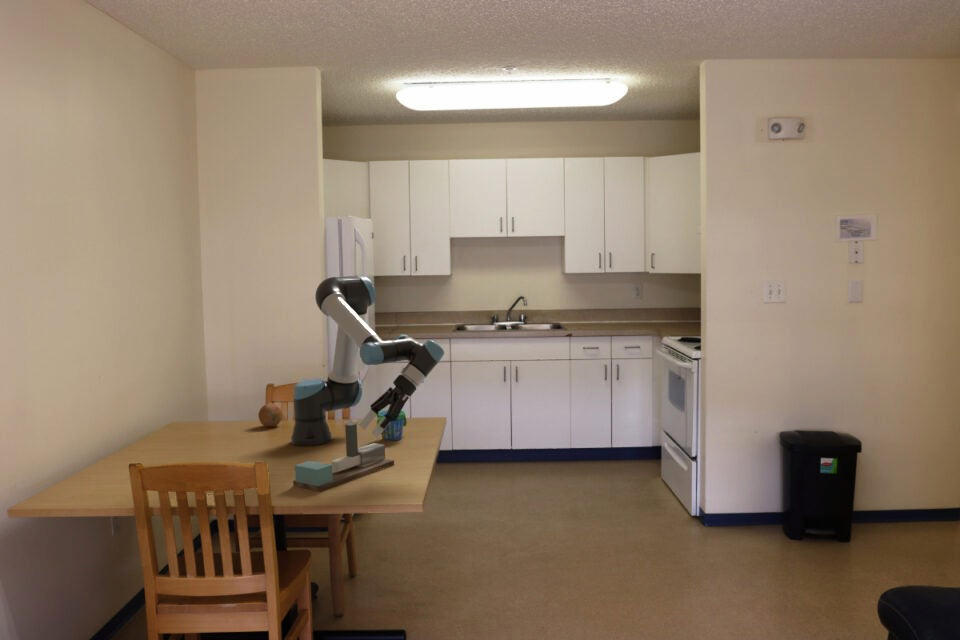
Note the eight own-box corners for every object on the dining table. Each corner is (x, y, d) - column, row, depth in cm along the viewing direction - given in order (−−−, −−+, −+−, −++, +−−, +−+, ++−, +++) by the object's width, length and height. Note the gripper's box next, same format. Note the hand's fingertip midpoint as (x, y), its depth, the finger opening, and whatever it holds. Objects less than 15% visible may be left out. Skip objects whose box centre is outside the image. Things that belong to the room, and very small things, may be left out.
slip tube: (331, 470, 248) (329, 425, 247) (378, 454, 266) (376, 412, 265) (338, 471, 246) (336, 426, 245) (385, 455, 264) (383, 413, 263)
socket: (295, 481, 240) (294, 465, 240) (310, 476, 245) (309, 460, 245) (318, 486, 234) (317, 469, 234) (332, 481, 239) (331, 464, 239)
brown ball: (276, 423, 333) (274, 400, 332) (287, 426, 325) (286, 402, 324) (255, 427, 326) (253, 403, 325) (266, 430, 319) (264, 406, 318)
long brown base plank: (293, 485, 241) (292, 465, 240) (367, 460, 268) (367, 441, 268) (320, 491, 234) (319, 470, 233) (394, 464, 261) (393, 445, 261)
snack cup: (386, 445, 289) (385, 418, 288) (367, 441, 295) (366, 414, 295) (416, 436, 301) (415, 410, 300) (397, 433, 307) (396, 407, 306)
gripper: (430, 393, 249) (388, 445, 244) (403, 382, 271) (364, 430, 266) (414, 378, 246) (371, 431, 241) (388, 369, 269) (348, 417, 264)
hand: (367, 431), depth 254 cm, fingers open, 13 cm apart
